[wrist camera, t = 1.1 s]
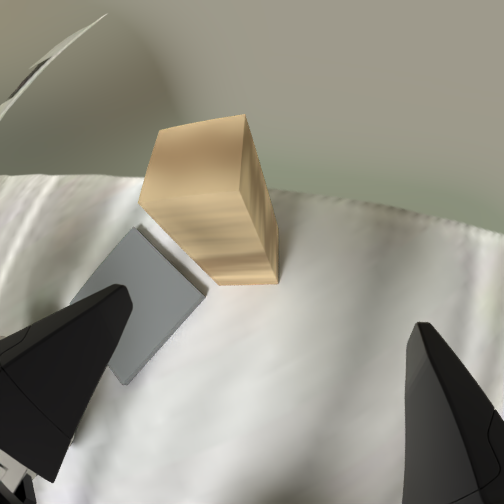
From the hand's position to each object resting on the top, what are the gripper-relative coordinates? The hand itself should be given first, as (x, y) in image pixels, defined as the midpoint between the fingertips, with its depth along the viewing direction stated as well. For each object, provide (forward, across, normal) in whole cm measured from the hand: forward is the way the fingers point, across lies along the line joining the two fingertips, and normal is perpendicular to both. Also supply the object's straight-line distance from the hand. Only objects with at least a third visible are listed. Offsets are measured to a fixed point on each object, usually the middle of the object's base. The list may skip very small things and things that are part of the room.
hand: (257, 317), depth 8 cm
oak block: (+15, +5, +8) cm, 17 cm away
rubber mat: (+10, +15, +11) cm, 21 cm away
